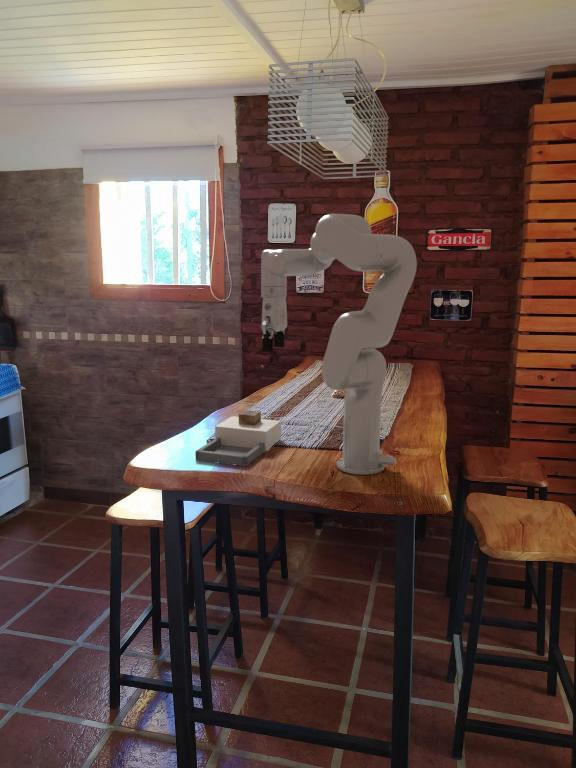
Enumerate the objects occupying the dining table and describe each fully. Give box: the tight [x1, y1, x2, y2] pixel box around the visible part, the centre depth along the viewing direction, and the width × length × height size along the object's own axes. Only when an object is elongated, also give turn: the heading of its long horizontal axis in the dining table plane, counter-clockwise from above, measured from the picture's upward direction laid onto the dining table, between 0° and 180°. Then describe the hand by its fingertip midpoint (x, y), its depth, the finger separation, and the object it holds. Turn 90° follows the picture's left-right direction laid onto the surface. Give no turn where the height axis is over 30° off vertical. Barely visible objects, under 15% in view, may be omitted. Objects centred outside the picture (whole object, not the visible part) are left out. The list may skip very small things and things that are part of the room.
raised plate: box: [214, 415, 282, 453], centre depth 178 cm, size 16×12×6 cm
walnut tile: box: [238, 410, 262, 426], centre depth 178 cm, size 5×5×3 cm
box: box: [195, 438, 266, 467], centre depth 167 cm, size 15×13×3 cm
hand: (273, 349), depth 182 cm, fingers open, 9 cm apart
